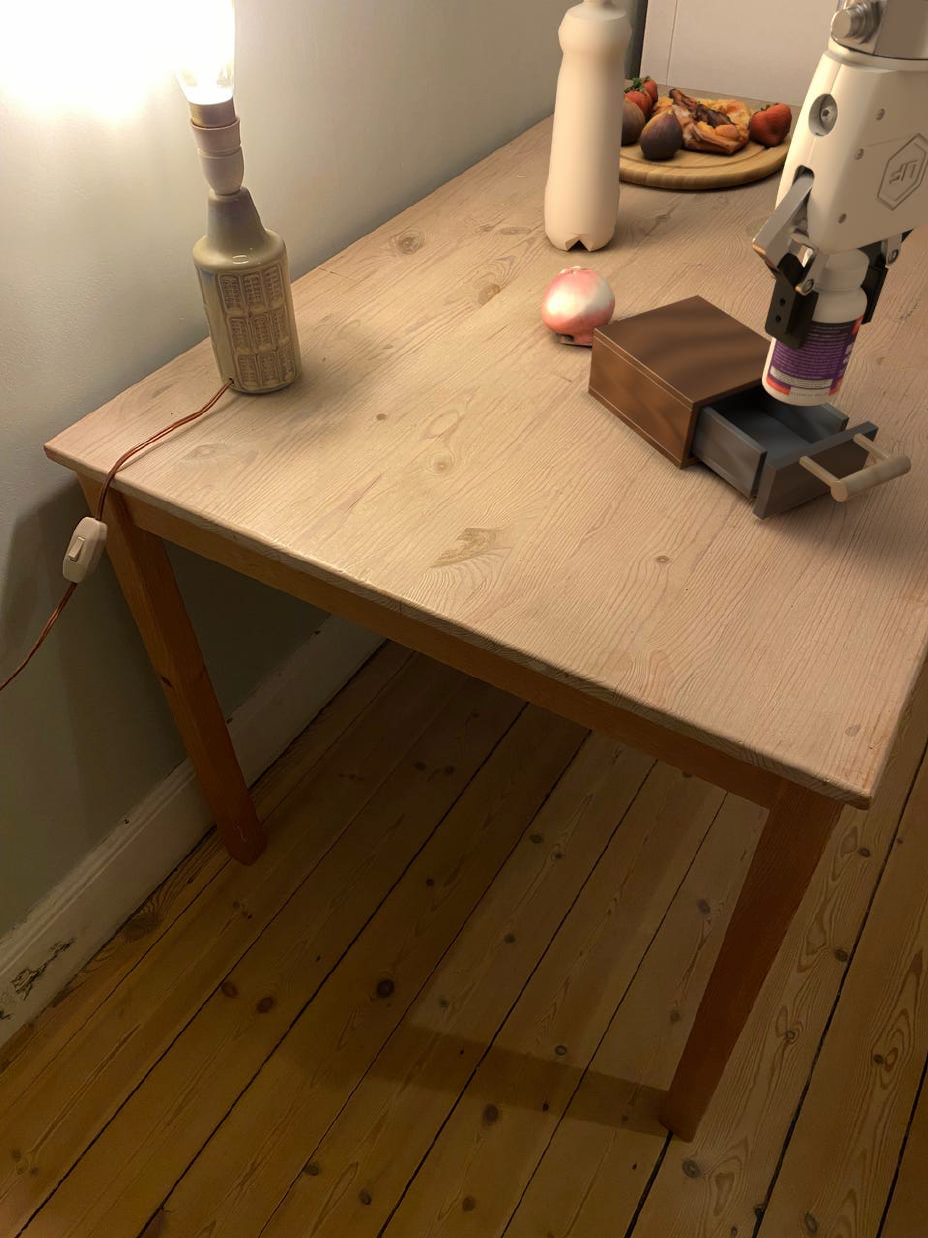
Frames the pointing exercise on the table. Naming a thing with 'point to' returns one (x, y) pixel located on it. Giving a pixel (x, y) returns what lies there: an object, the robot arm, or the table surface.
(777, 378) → the pill bottle
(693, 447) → the drawer
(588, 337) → the onion
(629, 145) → the wooden plate
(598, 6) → the bottle
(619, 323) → the cabinet
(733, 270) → the table surface
